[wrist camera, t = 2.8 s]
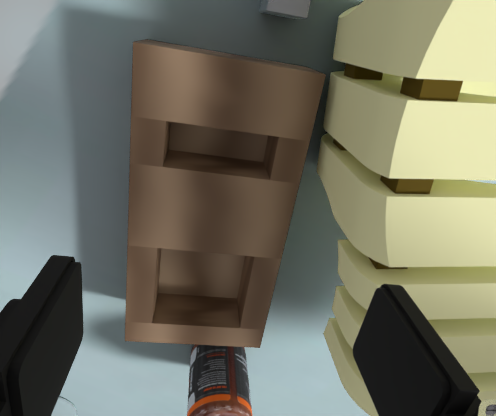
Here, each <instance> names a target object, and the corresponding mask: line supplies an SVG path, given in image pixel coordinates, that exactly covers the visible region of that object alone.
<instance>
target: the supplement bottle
mask: <svg viewBox="0 0 496 416" xmlns="http://www.w3.org/2000/svg"><path fill="white" fill-rule="evenodd" d="M187 416H252V410H251V399H250V390H249V381H248V372H247V363H246V354H245V349H244V347H235V346H215V345H194V346H193V348H192V351H191V358H190V373H189V395H188V411H187Z"/></svg>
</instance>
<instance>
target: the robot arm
mask: <svg viewBox="0 0 496 416" xmlns="http://www.w3.org/2000/svg"><path fill="white" fill-rule="evenodd" d="M82 337H83V305H82V272H81V263H80V262H75V259H74V257H68V256H57V255H53V256H51V257H50V259H49V260H48V261H47V263H46V264H45V266H44V267H43V269H42V270H41V271H40V273H39V274H38V276H37V277H36V279H35V280H34V282H33V283H32V284H31V286H30V287H29V289H28V290H27V292H26V293H25V294H24V296H23V297H22V299H12V300H10V301H9V302H8V303H7V304H6V306H5V307H4V308H3V310H2V311H1V312H0V416H51V415H52V412H53V410H54V407H55V405H56V403H57V400H58V398H59V395H60V393H61V390H62V388H63V386H64V383H65V381H66V378H67V376H68V373H69V371H70V368H71V366H72V364H73V361H74V359H75V356H76V354H77V351H78V349H79V347H80V344H81V341H82ZM353 357H354V359H355V362H356V364H357V366H358V369H359V371H360V373H361V376H362V378H363V380H364V383H365V385H366V387H367V390H368V392H369V394H370V397H371V399H372V401H373V403H374V406H375V408H376V410H377V413H378V415H379V416H496V400H494V399H487V400H484V401H481V400H480V399H479V397H478V396H477V395H478V393H479V392H480V390H479V389H478V388H477V386H476V385H475V384H474V382H473V381H472V380H471V378H470V377H469V375H468V374H467V373H466V371H465V370H464V369H463V367H462V366H461V365H460V363H459V362H458V361H457V359H456V358H455V357H454V355H453V354H452V352H451V351H450V350H449V348H448V347H447V346H446V344H445V343H444V342H443V340H442V339H441V338H440V336H439V335H438V334H437V332H436V331H435V329H434V328H433V327H432V325H431V324H430V323H429V321H428V320H427V319H426V317H425V316H424V315H423V313H422V312H421V310H420V309H419V308H418V306H417V305H416V304H415V302H414V301H413V300H412V298H411V297H410V296H409V294H408V293H407V292H406V290H405V289H404V288H403V287H402V286H401V285H393V284H383V285H381V287H380V288H377V289H376V290H375V292H374V295H373V298H372V300H371V303H370V305H369V308H368V310H367V313H366V315H365V318H364V320H363V323H362V325H361V328H360V330H359V333H358V335H357V338H356V340H355V343H354V346H353Z"/></svg>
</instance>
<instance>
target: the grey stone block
mask: <svg viewBox="0 0 496 416" xmlns="http://www.w3.org/2000/svg"><path fill="white" fill-rule="evenodd" d="M310 2H311V0H261V5H260V11H259V12H261V13H266V14H271V15H276V16H281V17H286V18H292V19H301V18H307V16H308V11H309V7H310Z"/></svg>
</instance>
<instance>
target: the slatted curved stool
mask: <svg viewBox="0 0 496 416" xmlns="http://www.w3.org/2000/svg"><path fill="white" fill-rule="evenodd" d="M333 59H334V60H337V61H341V62H344V63H346V64H345V70H344V71H336V72H331V74H330V81H329V88H328V95H327V102H326V109H325V116H324V123H323V128H324V129H325V130H326V131H327V132H328V133H327V134H325V135H323V136H322V137H321V143H320V150H319V157H318V163H317V173H318V175H319V177H320V179H321V181H322V183H323V185H324V188H325V191H326V193H327V196H328V199H329V202H330V205H331V209H332V212H333V216H334V218H335V220H336V221H337V223H338V224H339V226H340V228H341V229H342V231H343V232H344V234H345V235H346V237H347V238H348V240H338V274H339V276H340V278H341V280H342V282H343V284H344V286H336V290H335V296H334V301H333V306H332V310H333V313H334V315H335V317H336V318H329V320H328V323H327V326H326V329H325V331H324V333H323V334H324V336H325V339H326V342H327V345H328V347H329V350H330V353H331V356H332V358H333V361H334V364H335V366H336V369H337V372H338V375H339V377H340V380H341V382H342V384H343V386H344V388H345V390H346V391H347V393H348V394H349V396H350V397H351V398H352V399H353V400H354V401H355V403H356V404H357V405H358V406H359V407H360V408H362V409H363V410H364V411H365V412H366V413H367V414H369V415H370V416H379V415H378V413H377V410H376V408H375V406H374V403H373V401H372V399H371V397H370V394H369V392H368V390H367V387H366V385H365V383H364V380H363V378H362V376H361V373H360V371H359V369H358V366H357V364H356V362H355V359H354V357H353V346H354V343H355V340H356V338H357V335H358V333H359V330H360V328H361V325H362V323H363V320H364V318H365V315H366V313H367V310H368V308H369V305H370V303H371V300H372V298H373V295H374V292H375V290H376V289H377V288H380V287H381V285H383V284H393V285H401V286H402V287H403V288H404V289H405V290H406V292H407V293H408V294H409V296H410V297H411V298H412V300H413V301H414V302H415V304H416V305H417V306H418V308H419V309H420V310H421V312H422V313H423V315H424V316H425V317H426V319H427V320H428V321H429V323H430V324H431V325H432V327H433V328H434V329H435V331H436V332H437V334H438V335H439V336H440V338H441V339H442V340H443V342H444V343H445V344H446V346H447V347H448V348H449V350H450V351H451V352H452V354H453V355H454V357H455V358H456V359H457V361H458V362H459V363H460V365H461V366H462V367H463V369H464V370H465V371H466V373H467V374H468V375H469V377H470V378H471V380H472V381H473V382H474V384H475V385H476V386H477V388H478V389H479V390H480V392H479V393H478V395H477V396H478V397H479V399H480V400H481V401H484V400H487V399H494V400H496V184H490V183H482V182H475V181H469V180H496V0H364V1H363V2H362V3H361V4H360V5H357V6H354V7H352V8H350V9H348V10H346V11H345V12H343V13H342V14H341V15H340V16H339V18H338V25H337V32H336V39H335V46H334V54H333Z"/></svg>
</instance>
